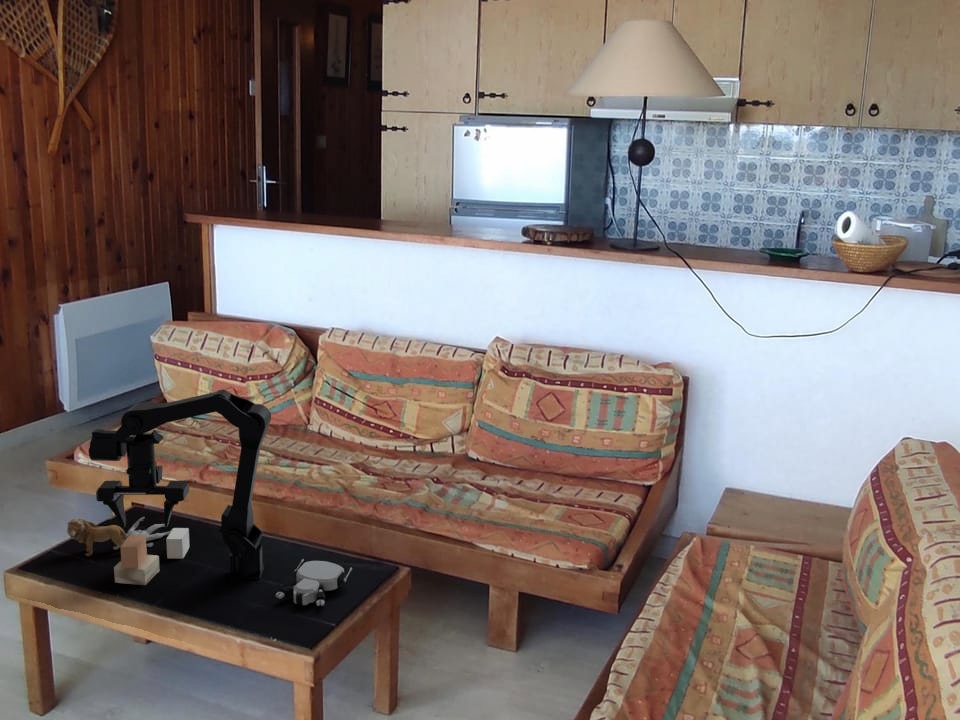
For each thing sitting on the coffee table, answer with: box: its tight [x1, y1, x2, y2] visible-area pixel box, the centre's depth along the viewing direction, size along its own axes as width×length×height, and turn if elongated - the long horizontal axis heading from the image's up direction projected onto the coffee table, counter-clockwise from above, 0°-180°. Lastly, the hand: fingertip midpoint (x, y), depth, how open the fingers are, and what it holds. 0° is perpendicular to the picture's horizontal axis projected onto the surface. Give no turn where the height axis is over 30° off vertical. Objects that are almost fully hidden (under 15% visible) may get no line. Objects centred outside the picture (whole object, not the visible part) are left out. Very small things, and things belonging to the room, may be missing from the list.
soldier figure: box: [121, 516, 172, 548], centre depth 224 cm, size 8×5×12 cm
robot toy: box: [275, 558, 353, 607], centre depth 203 cm, size 12×4×15 cm
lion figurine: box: [66, 518, 127, 557], centre depth 217 cm, size 15×5×9 cm, turn 106°
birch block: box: [113, 554, 161, 586], centre depth 207 cm, size 7×7×4 cm
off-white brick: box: [165, 527, 190, 560], centre depth 219 cm, size 4×6×5 cm, turn 3°
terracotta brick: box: [119, 535, 148, 568], centre depth 206 cm, size 4×6×5 cm, turn 2°
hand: (145, 526), depth 207 cm, fingers open, 9 cm apart
